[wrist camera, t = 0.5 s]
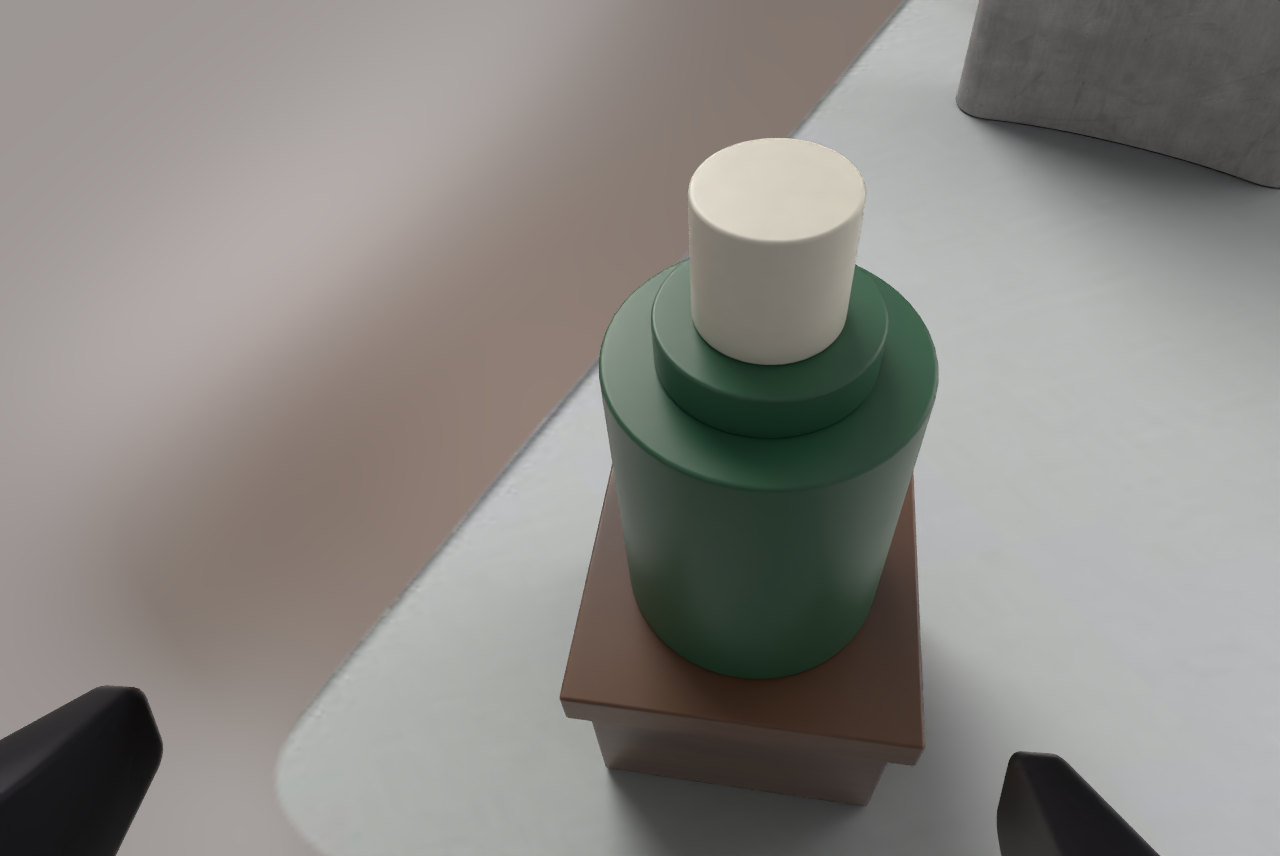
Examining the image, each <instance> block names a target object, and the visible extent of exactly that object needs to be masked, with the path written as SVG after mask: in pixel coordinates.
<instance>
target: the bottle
mask: <svg viewBox="0 0 1280 856" xmlns="http://www.w3.org/2000/svg"><path fill="white" fill-rule="evenodd" d="M865 202H866V187H865V183H864V181H863V178H862V176H861V174H860V172H859V171H858V169H857V168H856V167H855V166H854V165H853V164H852V163H851V162H850V161H849V160H848V159H847V158H845V157H844V156H842V155H841V154H839V153H837V152H836V151H834V150H832V149H829V148H827V147H824V146H822V145H819V144H816V143H812V142H808V141H803V140H797V139H787V138H767V139H757V140H751V141H746V142H742V143H738V144H735V145H732V146H729V147H727V148H725V149H723V150H720V151H719V152H717V153H715V154H713V155H712V156H710V157H709V158H708V159H706V160H705V161H704V162H703V163H702V164H701V165H700V166H699V167H698V168H697V170H696V171H695V173H694V175H693V177H692V179H691V181H690V184H689V188H688V214H689V250H690V258H689V259H687V260H684V261H682V262H679V263H677V264H675V265H673V266H671V267H669V268H667V269H665V270H663V271H661V272H660V273H658V274H657V275H655V276H653V277H652V278H650V279H649V280H647V281H646V282H645V283H644V284H642V285H641V286H640V287H639V288H637V289H636V290H635V291H634V292H633V293H632V294H631V295H630V296H629V297H628V298H627V299H626V301H624V303H623V304H622V305H621V307H620V308H619V309H618V311H617V312H616V313H615V315H614V317H613V319H612V321H611V323H610V325H609V326H608V328H607V330H606V333H605V336H604V339H603V342H602V345H601V350H600V357H599V379H600V385H601V392H602V398H603V405H604V411H605V418H606V424H607V431H608V437H609V444H610V450H611V457H612V463H613V470H614V476H615V483H616V489H617V495H618V502H619V508H620V515H621V521H622V528H623V534H624V541H625V547H626V554H627V560H628V567H629V573H630V579H631V584H632V589H633V593H634V596H635V599H636V602H637V605H638V607H639V609H640V611H641V613H642V615H643V616H644V618H645V620H646V621H647V623H648V624H649V626H650V627H651V628H652V630H653V631H654V632H655V634H656V635H657V636H658V637H659V638H660V639H661V640H662V641H663V642H664V643H665V644H666V645H667V646H669V647H670V648H671V649H672V650H674V651H675V652H676V653H677V654H679V655H680V656H682V657H684V658H685V659H687V660H689V661H690V662H692V663H694V664H696V665H698V666H700V667H703V668H705V669H707V670H710V671H713V672H716V673H720V674H723V675H727V676H732V677H738V678H747V679H769V678H779V677H784V676H789V675H794V674H797V673H800V672H803V671H806V670H809V669H811V668H813V667H815V666H817V665H819V664H821V663H823V662H825V661H827V660H828V659H830V658H831V657H832V656H834V655H835V654H837V653H838V652H840V651H841V650H842V649H843V648H844V647H845V646H846V645H847V644H848V643H849V642H850V641H851V640H852V639H853V637H854V636H855V635H856V634H857V632H858V631H859V630H860V628H861V627H862V625H863V623H864V621H865V620H866V618H867V616H868V614H869V611H870V608H871V605H872V603H873V600H874V597H875V593H876V590H877V587H878V584H879V580H880V577H881V574H882V571H883V567H884V564H885V561H886V558H887V554H888V551H889V548H890V544H891V541H892V538H893V535H894V531H895V528H896V525H897V522H898V518H899V515H900V512H901V509H902V505H903V502H904V499H905V496H906V492H907V489H908V486H909V483H910V479H911V476H912V473H913V470H914V466H915V463H916V460H917V457H918V453H919V450H920V447H921V444H922V440H923V437H924V434H925V431H926V427H927V424H928V421H929V418H930V414H931V411H932V408H933V405H934V401H935V398H936V392H937V387H938V361H937V356H936V351H935V347H934V344H933V342H932V339H931V336H930V334H929V331H928V329H927V328H926V326H925V324H924V322H923V321H922V319H921V317H920V316H919V315H918V313H917V312H916V311H915V309H914V308H913V307H912V306H911V304H910V303H909V302H908V301H907V300H906V299H905V298H904V297H903V296H902V295H901V294H900V293H899V292H898V291H896V290H895V289H894V288H892V287H891V286H890V285H889V284H887V283H886V282H885V281H883V280H882V279H880V278H879V277H877V276H875V275H874V274H872V273H870V272H868V271H867V270H865V269H863V268H861V267H858V266H857V265H856V264H855V263H856V257H857V251H858V245H859V239H860V233H861V227H862V220H863V214H864V208H865Z"/></svg>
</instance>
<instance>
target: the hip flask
mask: <svg viewBox="0 0 1280 856" xmlns="http://www.w3.org/2000/svg"><path fill="white" fill-rule="evenodd" d="M956 102H957V105H958V106H959V108H960V109H962V110H963V111H964V112H966V113H968V114H970V115H972V116H975V117H979V118H985V119H993V120H1001V121H1008V122H1015V123H1022V124H1029V125H1035V126H1040V127H1046V128H1052V129H1057V130H1062V131H1068V132H1073V133H1077V134H1082V135H1087V136H1091V137H1096V138H1100V139H1104V140H1109V141H1113V142H1117V143H1121V144H1126V145H1130V146H1134V147H1138V148H1142V149H1146V150H1150V151H1154V152H1158V153H1161V154H1165V155H1169V156H1172V157H1176V158H1179V159H1183V160H1186V161H1189V162H1193V163H1196V164H1199V165H1203V166H1206V167H1209V168H1212V169H1215V170H1218V171H1221V172H1225V173H1228V174H1231V175H1234V176H1236V177H1239V178H1242V179H1245V180H1248V181H1251V182H1253V183H1257V184H1260V185H1264V186H1268V187H1277V188H1280V0H979V4H978V8H977V12H976V16H975V21H974V25H973V29H972V33H971V37H970V42H969V46H968V50H967V54H966V58H965V63H964V67H963V71H962V75H961V79H960V84H959V88H958V92H957V96H956Z"/></svg>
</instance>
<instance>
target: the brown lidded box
mask: <svg viewBox="0 0 1280 856" xmlns="http://www.w3.org/2000/svg"><path fill="white" fill-rule="evenodd" d="M560 701H561V704H562V706H563V709H564V712H565V714H566V717H568V718H574V719H582V720H589V721H592V723H593V726H594V729H595V733H596V736H597V739H598V743H599V746H600V749H601V752H602V756H603V759H604V762H605V765H606V767H607V768H612V769H619V770H626V771H632V772H639V773H646V774H653V775H659V776H666V777H673V778H680V779H686V780H693V781H700V782H707V783H713V784H720V785H727V786H734V787H740V788H747V789H754V790H761V791H767V792H774V793H781V794H788V795H795V796H801V797H808V798H815V799H822V800H828V801H835V802H842V803H849V804H855V805H862V806H866V805H867V803H868V801H869V799H870V797H871V795H872V793H873V791H874V789H875V787H876V785H877V783H878V781H879V779H880V777H881V775H882V772H883V770H884V768H885V766H886V764H887V762H889V763H896V764H904V765H911V766H913V765H915V764H916V763H917V761H918V759H919V757H920V756H921V754H922V752H923V750H924V748H925V731H924V708H923V685H922V661H921V638H920V615H919V592H918V568H917V545H916V522H915V499H914V475H913V473H912V476H911V479H910V483H909V486H908V489H907V492H906V496H905V499H904V502H903V505H902V509H901V512H900V515H899V518H898V522H897V525H896V528H895V531H894V535H893V538H892V541H891V544H890V548H889V551H888V554H887V558H886V561H885V564H884V567H883V571H882V574H881V577H880V580H879V584H878V587H877V590H876V593H875V597H874V600H873V603H872V605H871V608H870V611H869V614H868V616H867V618H866V620H865V621H864V623H863V625H862V627H861V628H860V630H859V631H858V632H857V634H856V635H855V636H854V637H853V639H852V640H851V641H850V642H849V643H848V644H847V645H846V646H845V647H844V648H843V649H842V650H841V651H840V652H838V653H837V654H835V655H834V656H832V657H831V658H830V659H828V660H827V661H825V662H823V663H821V664H819V665H817V666H815V667H813V668H811V669H809V670H806V671H803V672H800V673H797V674H794V675H789V676H784V677H779V678H769V679H747V678H738V677H732V676H727V675H723V674H720V673H716V672H713V671H710V670H707V669H705V668H703V667H700V666H698V665H696V664H694V663H692V662H690V661H689V660H687V659H685V658H684V657H682V656H680V655H679V654H677V653H676V652H675V651H674V650H672V649H671V648H670V647H669V646H667V645H666V644H665V643H664V642H663V641H662V640H661V639H660V638H659V637H658V636H657V635H656V634H655V632H654V631H653V630H652V628H651V627H650V626H649V624H648V623H647V621H646V620H645V618H644V616H643V615H642V613H641V611H640V609H639V607H638V605H637V602H636V599H635V596H634V593H633V589H632V584H631V579H630V573H629V567H628V560H627V554H626V547H625V541H624V534H623V528H622V521H621V515H620V508H619V502H618V495H617V489H616V483H615V476H614V470H613V463H612V467H611V472H610V476H609V481H608V485H607V490H606V494H605V498H604V503H603V507H602V512H601V516H600V520H599V525H598V529H597V534H596V538H595V543H594V547H593V551H592V556H591V560H590V565H589V569H588V574H587V578H586V582H585V587H584V591H583V596H582V600H581V604H580V609H579V613H578V618H577V622H576V627H575V631H574V635H573V640H572V644H571V649H570V653H569V658H568V662H567V666H566V671H565V675H564V680H563V684H562V688H561V693H560Z"/></svg>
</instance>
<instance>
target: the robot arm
mask: <svg viewBox="0 0 1280 856" xmlns="http://www.w3.org/2000/svg"><path fill="white" fill-rule="evenodd" d="M162 754H163V742H162V738H161V735H160V733H159V730H158V727H157V725H156V722H155V719H154V716H153V714H152V711H151V708H150V706H149V703H148V700H147V698H146V696H145V694H144V693H143V692H142V691H141V690H140V689H138V688H135V687H123V686H122V687H121V686H108V685H107V686H100V687H97V688H95V689H93V690H91V691H89V692H87V693H85V694H84V695H82V696H80V697H78V698H77V699H74V700H73V701H71V702H69V703H67V704H65V705H63V706H62V707H60V708H58V709H56V710H54V711H53V712H51V713H49V714H47V715H45V716H43V717H42V718H40V719H38V720H36V721H34V722H32V723H31V724H29V725H27V726H25V727H23V728H21V729H20V730H18V731H16V732H14V733H12V734H10V735H9V736H7V737H5V738H3V739H1V740H0V856H116V854H117V852H118V850H119V848H120V846H121V844H122V842H123V840H124V837H125V835H126V833H127V831H128V829H129V827H130V825H131V823H132V821H133V819H134V817H135V815H136V813H137V811H138V809H139V807H140V805H141V803H142V800H143V799H144V796H145V794H146V792H147V790H148V788H149V786H150V784H151V782H152V780H153V778H154V776H155V774H156V772H157V770H158V768H159V765H160V762H161V758H162ZM997 833H998V839H999V845H1000V851H1001V856H1160V855H1159V854H1158V853H1157V852H1156V851H1155V850H1154V849H1153V848H1152V847H1151V846H1150V845H1149V844H1148V843H1147V842H1146V841H1145V840H1144V839H1143V838H1142V837H1141V836H1140V835H1139V834H1138V833H1137V832H1136V831H1135V830H1134V829H1133V828H1132V827H1131V826H1130V825H1129V824H1128V823H1127V822H1126V821H1125V820H1124V819H1123V818H1122V817H1121V816H1120V815H1119V814H1118V813H1117V812H1116V811H1115V810H1114V809H1113V808H1112V807H1111V806H1110V805H1109V804H1108V803H1107V802H1106V801H1105V800H1104V799H1103V798H1102V797H1101V796H1100V795H1099V794H1098V793H1097V792H1096V791H1095V790H1094V789H1093V788H1092V787H1091V786H1090V785H1089V784H1088V783H1087V782H1086V781H1085V780H1084V779H1083V778H1082V777H1081V776H1080V775H1079V774H1078V773H1077V772H1076V771H1075V770H1074V769H1073V768H1072V767H1071V766H1070V765H1069V764H1068V763H1067V762H1066V761H1065V760H1064V759H1062V758H1061V757H1059V756H1058V755H1055V754H1050V753H1036V752H1022V751H1020V752H1016V753H1014V754H1013V755H1012V756H1011V758H1010V760H1009V763H1008V767H1007V771H1006V775H1005V780H1004V784H1003V788H1002V792H1001V796H1000V801H999V805H998V810H997Z"/></svg>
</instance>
